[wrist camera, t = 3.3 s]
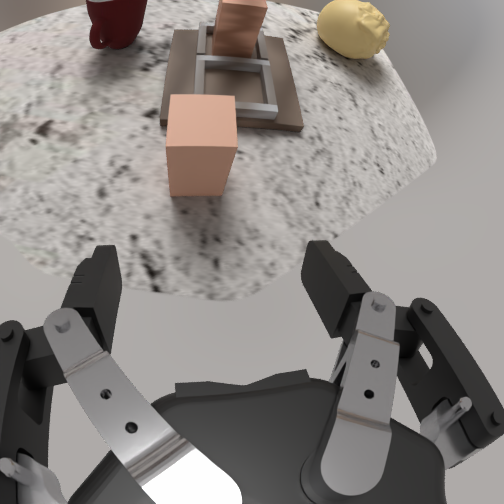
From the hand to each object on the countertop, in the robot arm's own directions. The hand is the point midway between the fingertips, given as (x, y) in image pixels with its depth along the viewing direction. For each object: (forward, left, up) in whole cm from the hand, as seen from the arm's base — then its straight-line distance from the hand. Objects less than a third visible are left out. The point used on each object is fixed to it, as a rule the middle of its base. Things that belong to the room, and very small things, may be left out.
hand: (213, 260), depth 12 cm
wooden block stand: (+4, +26, -14) cm, 30 cm away
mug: (-12, +33, -15) cm, 38 cm away
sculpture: (+24, +39, -15) cm, 48 cm away
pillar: (0, +11, -15) cm, 19 cm away
